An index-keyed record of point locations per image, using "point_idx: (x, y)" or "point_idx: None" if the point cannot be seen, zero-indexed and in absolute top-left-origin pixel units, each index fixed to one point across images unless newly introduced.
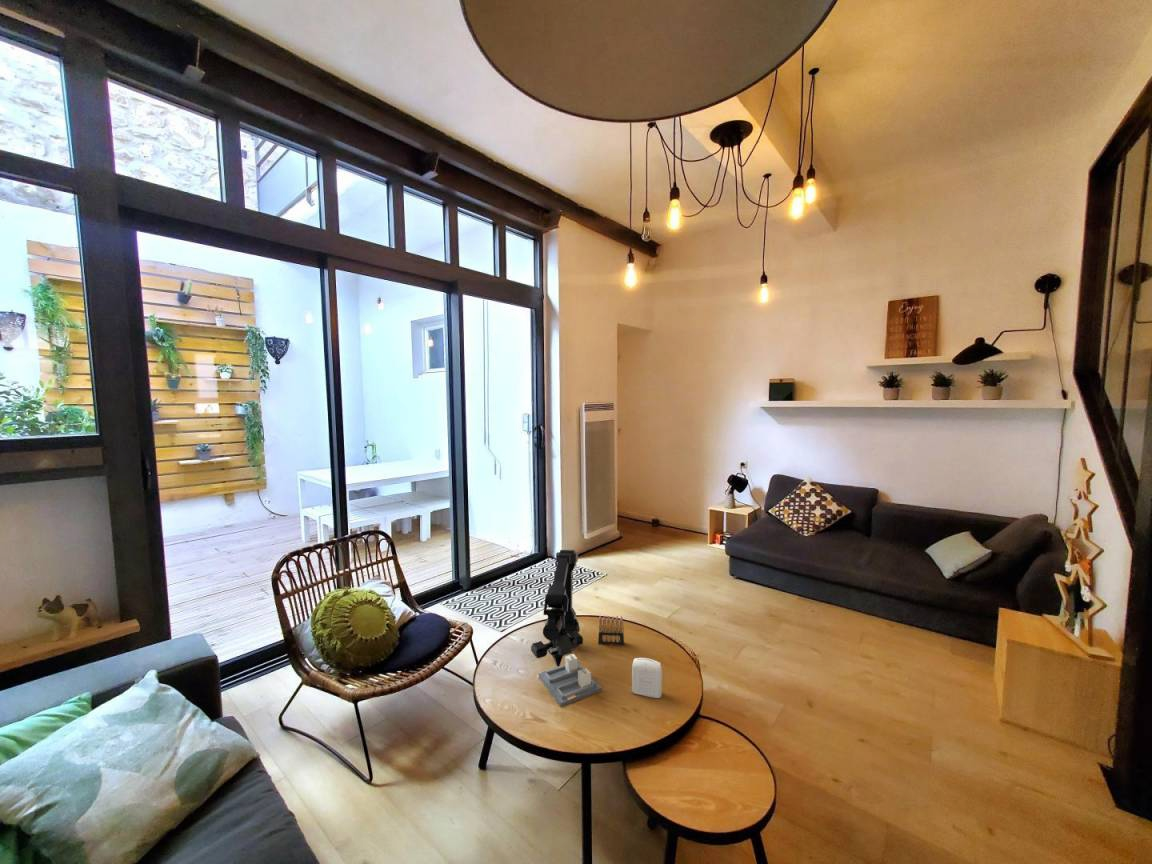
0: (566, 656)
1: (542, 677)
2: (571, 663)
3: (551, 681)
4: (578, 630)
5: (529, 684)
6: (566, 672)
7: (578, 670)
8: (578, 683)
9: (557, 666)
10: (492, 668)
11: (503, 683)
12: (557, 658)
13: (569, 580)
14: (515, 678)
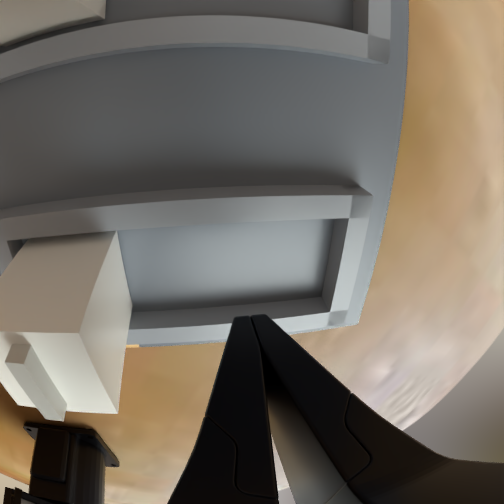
0: (99, 408)
1: (365, 279)
2: (55, 297)
3: (349, 189)
4: (8, 495)
5: (428, 263)
6: (138, 256)
7: (18, 214)
8: (102, 3)
9: (266, 315)
10: (433, 394)
11: (478, 313)
12: (325, 417)
13: None
14: (434, 331)
